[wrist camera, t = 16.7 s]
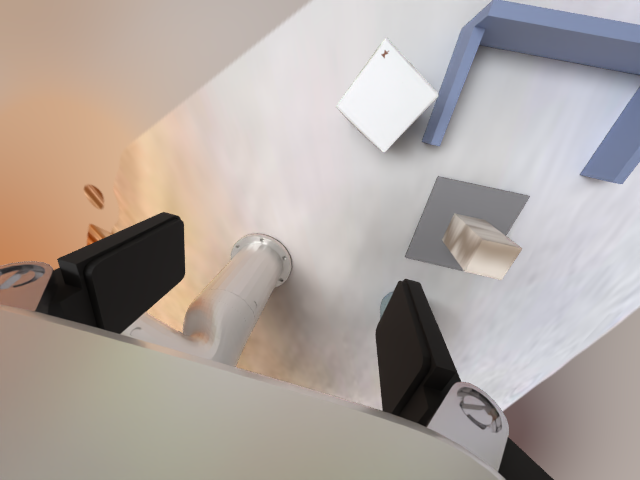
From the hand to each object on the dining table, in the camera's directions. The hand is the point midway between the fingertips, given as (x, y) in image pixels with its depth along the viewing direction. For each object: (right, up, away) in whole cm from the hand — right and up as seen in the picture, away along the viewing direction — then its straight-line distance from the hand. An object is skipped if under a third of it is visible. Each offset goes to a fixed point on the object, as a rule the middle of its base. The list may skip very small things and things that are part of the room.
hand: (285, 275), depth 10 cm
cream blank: (+26, +3, +30) cm, 40 cm away
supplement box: (+10, +21, +25) cm, 34 cm away
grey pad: (+25, +3, +30) cm, 40 cm away
